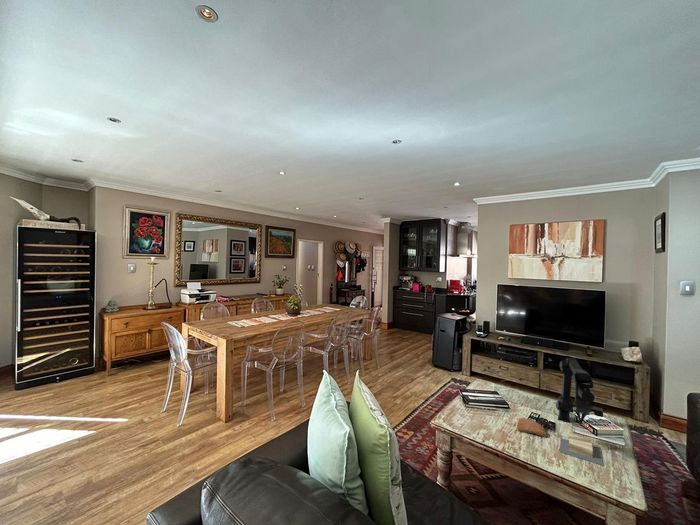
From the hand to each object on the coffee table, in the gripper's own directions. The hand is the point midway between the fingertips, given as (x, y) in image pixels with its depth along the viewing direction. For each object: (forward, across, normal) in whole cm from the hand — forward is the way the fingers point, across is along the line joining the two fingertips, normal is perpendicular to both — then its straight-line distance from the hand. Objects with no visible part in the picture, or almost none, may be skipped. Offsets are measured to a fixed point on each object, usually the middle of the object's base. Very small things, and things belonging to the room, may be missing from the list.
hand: (580, 423), depth 170 cm
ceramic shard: (+13, -24, +3) cm, 28 cm away
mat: (+13, 0, -6) cm, 14 cm away
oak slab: (+10, 0, +3) cm, 11 cm away
